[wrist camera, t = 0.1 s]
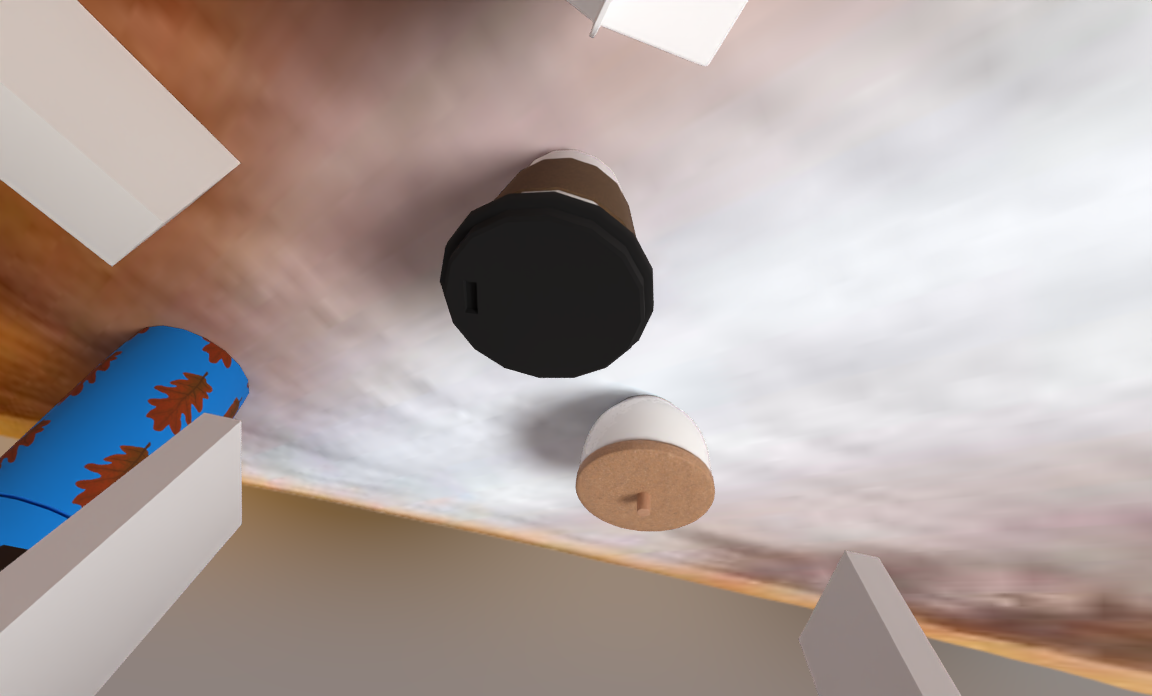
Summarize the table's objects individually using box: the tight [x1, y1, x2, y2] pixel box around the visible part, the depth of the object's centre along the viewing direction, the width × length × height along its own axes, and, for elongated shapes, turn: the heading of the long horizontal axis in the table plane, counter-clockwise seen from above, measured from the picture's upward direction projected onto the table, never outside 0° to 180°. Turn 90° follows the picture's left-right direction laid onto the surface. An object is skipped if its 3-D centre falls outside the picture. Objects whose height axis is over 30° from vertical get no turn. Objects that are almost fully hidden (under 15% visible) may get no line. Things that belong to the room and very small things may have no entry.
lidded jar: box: [576, 395, 715, 531], centre depth 48 cm, size 11×11×9 cm
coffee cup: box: [440, 150, 654, 378], centre depth 33 cm, size 11×11×12 cm
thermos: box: [0, 326, 249, 550], centre depth 44 cm, size 11×11×25 cm
